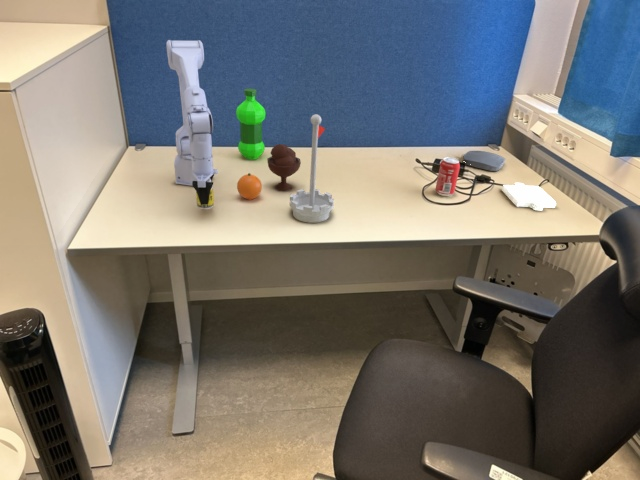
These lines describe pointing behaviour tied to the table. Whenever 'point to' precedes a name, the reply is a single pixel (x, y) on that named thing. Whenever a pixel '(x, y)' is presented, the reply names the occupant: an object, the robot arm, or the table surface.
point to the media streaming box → (484, 160)
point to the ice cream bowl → (283, 164)
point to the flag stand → (312, 188)
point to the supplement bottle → (211, 201)
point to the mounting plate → (528, 196)
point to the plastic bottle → (250, 126)
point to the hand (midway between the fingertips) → (205, 199)
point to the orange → (249, 186)
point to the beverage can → (447, 176)
